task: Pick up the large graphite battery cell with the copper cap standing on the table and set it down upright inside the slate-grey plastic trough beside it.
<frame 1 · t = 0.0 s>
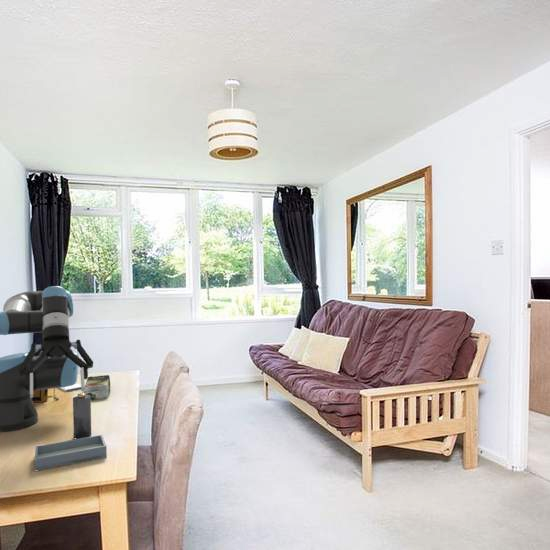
hand: (58, 392, 128), 15 cm above the table, tool tilted 35°, fingers open, 13 cm apart
cell: (82, 436, 135), on the table
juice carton: (97, 394, 186), on the table
trough: (71, 457, 119), on the table
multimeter: (42, 399, 178), on the table
external hard drive: (70, 389, 197), on the table
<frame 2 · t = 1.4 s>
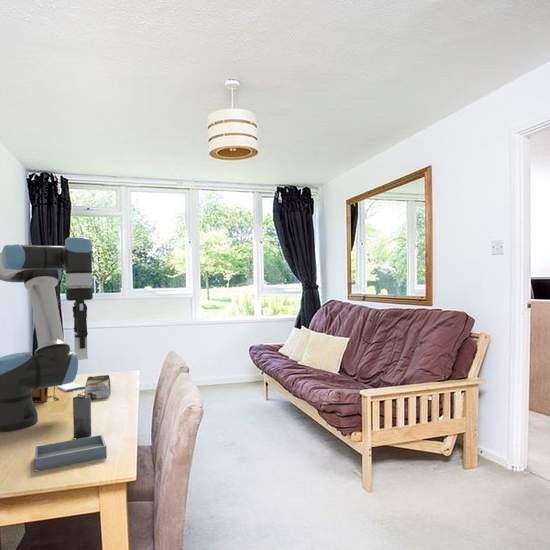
hand: (80, 356, 135), 25 cm above the table, tool pointing down, fingers open, 13 cm apart
nothing on the table moved.
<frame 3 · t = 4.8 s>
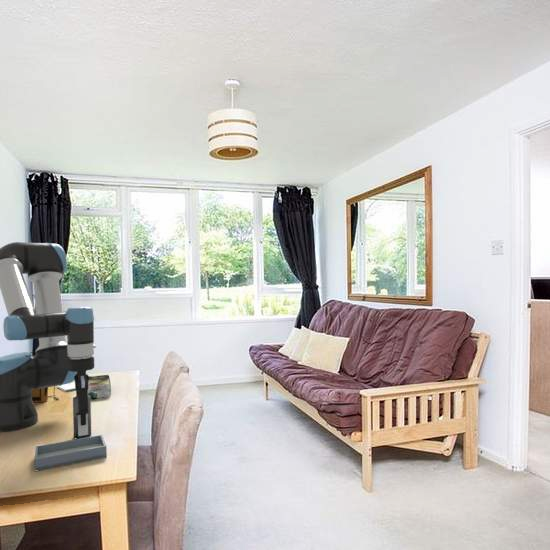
hand: (82, 432, 135), 1 cm above the table, tool pointing down, fingers closed on cell, 5 cm apart
cell: (82, 436, 135), on the table, touching gripper
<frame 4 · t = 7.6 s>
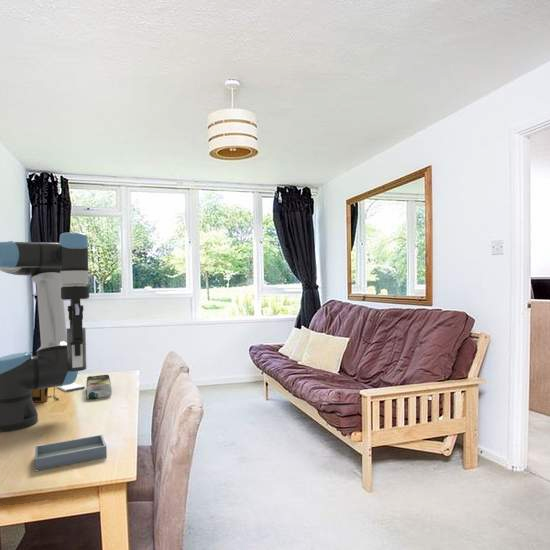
hand: (76, 365, 127), 23 cm above the table, tool pointing down, fingers closed on cell, 5 cm apart
cell: (77, 369, 127), point 22 cm above the table, touching gripper
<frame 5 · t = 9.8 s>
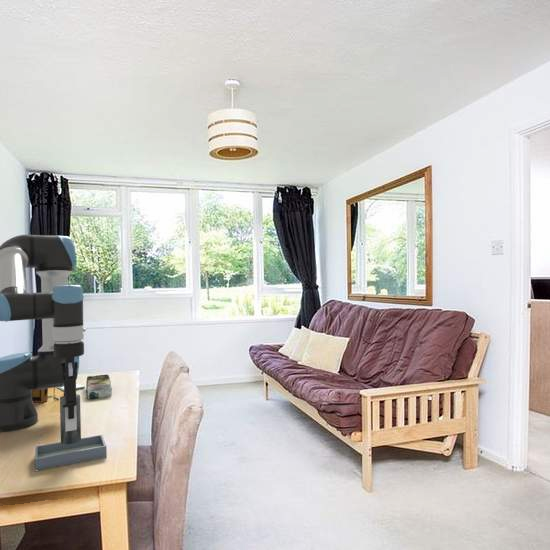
hand: (70, 427, 119), 8 cm above the table, tool pointing down, fingers closed on cell, 5 cm apart
cell: (71, 440, 119), point 4 cm above the table, touching gripper
when the fingers open (4 cm above the table, at t = 10.9 s): cell stays where it is, resting on trough.
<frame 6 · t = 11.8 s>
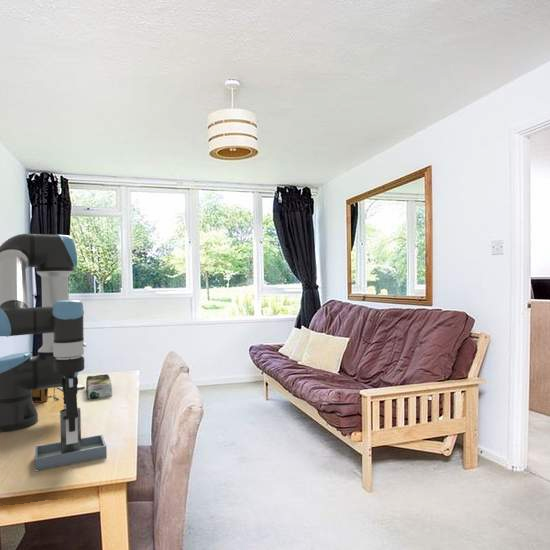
hand: (70, 435, 119), 6 cm above the table, tool pointing down, fingers open, 13 cm apart
cell: (71, 454, 119), point 1 cm above the table, touching trough
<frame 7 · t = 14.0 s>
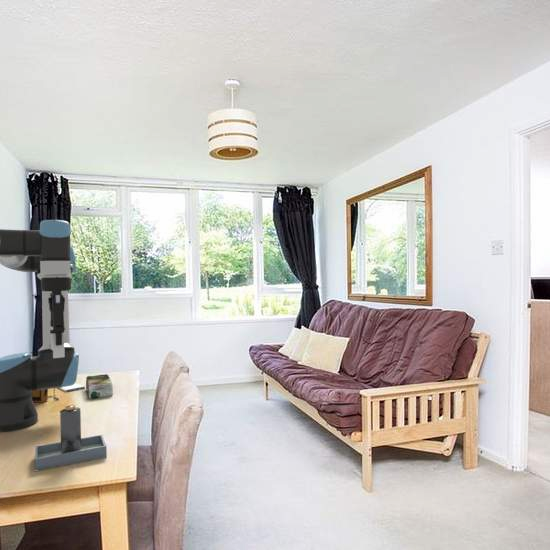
hand: (57, 353, 121), 28 cm above the table, tool pointing down, fingers open, 13 cm apart
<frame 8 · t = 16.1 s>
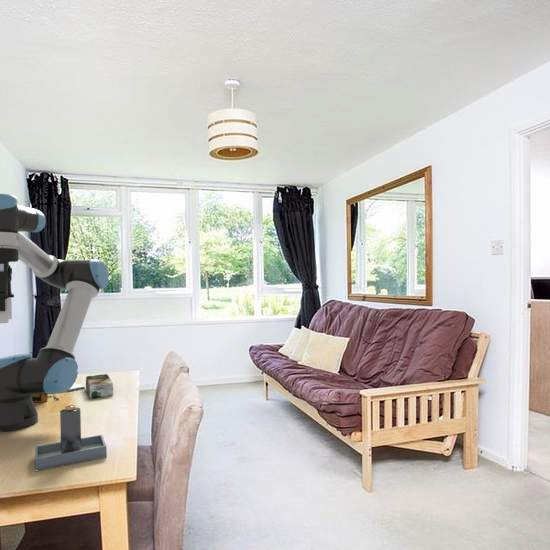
hand: (4, 321, 127), 37 cm above the table, tool pointing down, fingers open, 13 cm apart
at the end: cell inside the target area on the trough (0.1 cm from its centre), point 0.8 cm above the trough's base; cell tilted 0°; the gripper is holding nothing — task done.
